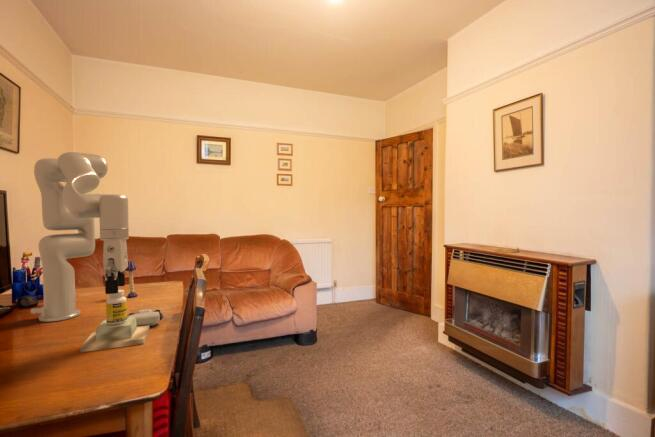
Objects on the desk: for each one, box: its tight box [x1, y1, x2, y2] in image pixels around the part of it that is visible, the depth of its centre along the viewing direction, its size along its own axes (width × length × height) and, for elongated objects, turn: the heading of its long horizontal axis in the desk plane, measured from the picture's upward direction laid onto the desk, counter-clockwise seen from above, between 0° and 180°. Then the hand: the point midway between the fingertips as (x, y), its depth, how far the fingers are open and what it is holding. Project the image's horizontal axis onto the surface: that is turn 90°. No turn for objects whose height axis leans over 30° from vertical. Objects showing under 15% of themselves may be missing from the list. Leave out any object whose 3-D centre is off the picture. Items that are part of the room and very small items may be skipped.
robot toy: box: [127, 308, 165, 327], centre depth 120 cm, size 12×4×15 cm
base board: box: [79, 316, 151, 353], centre depth 105 cm, size 16×13×6 cm
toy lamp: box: [124, 260, 139, 299], centre depth 159 cm, size 5×5×17 cm
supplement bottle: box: [105, 289, 128, 325], centre depth 105 cm, size 5×5×10 cm
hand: (115, 289), depth 105 cm, fingers open, 9 cm apart
